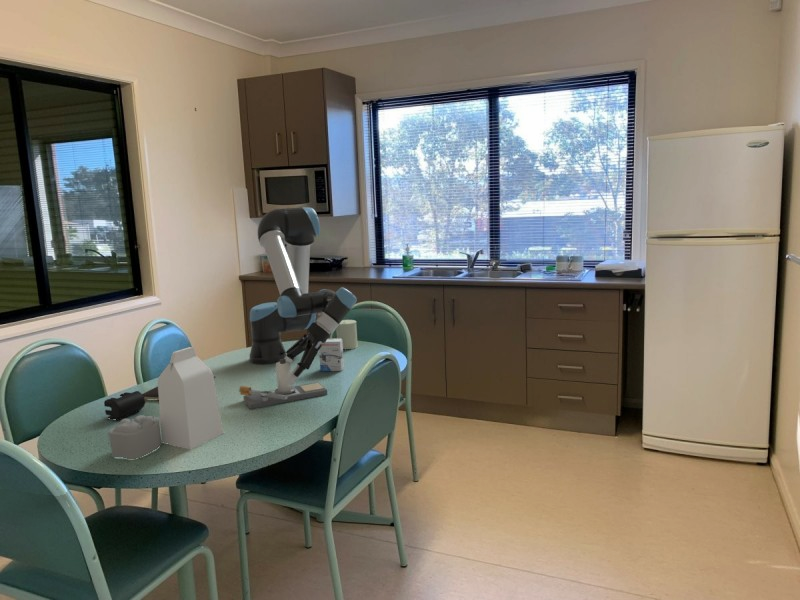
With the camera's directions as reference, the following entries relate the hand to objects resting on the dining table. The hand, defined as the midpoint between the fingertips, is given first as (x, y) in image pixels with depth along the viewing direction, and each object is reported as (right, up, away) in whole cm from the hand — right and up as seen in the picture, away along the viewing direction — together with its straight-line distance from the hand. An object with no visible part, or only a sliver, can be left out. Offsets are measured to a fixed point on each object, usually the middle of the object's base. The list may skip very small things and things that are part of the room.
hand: (282, 378), depth 198 cm
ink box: (+13, -1, +31) cm, 34 cm away
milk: (-20, -13, -29) cm, 38 cm away
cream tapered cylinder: (+16, +5, +64) cm, 66 cm away
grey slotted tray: (+1, -7, +2) cm, 7 cm away
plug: (+1, -7, +2) cm, 7 cm away
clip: (-5, -6, -5) cm, 9 cm away
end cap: (-49, -11, -8) cm, 50 cm away
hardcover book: (-40, -7, +15) cm, 44 cm away
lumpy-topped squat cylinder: (-32, -15, -35) cm, 50 cm away
